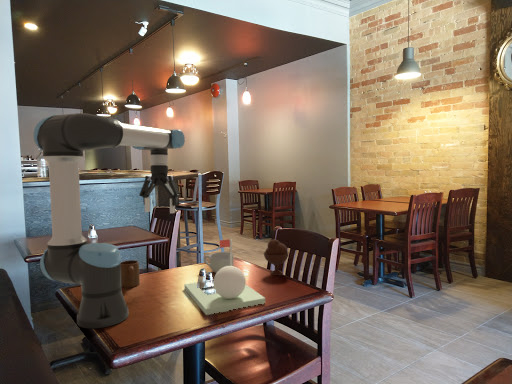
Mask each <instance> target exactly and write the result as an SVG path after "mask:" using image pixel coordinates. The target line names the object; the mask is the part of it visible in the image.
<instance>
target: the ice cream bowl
mask: <svg viewBox="0 0 512 384" xmlns="http://www.w3.org/2000/svg"><path fill="white" fill-rule="evenodd" d="M289 253H290V252H289V251H288V248H287V246H286V245H285V243H282V242H280V241H279V240H278V239H276V238H274V239H271V240H269V241H268V243H267V248H266V249H265V251H263V256H264V259H265V260H266V261H267V262H268V263H269V264H272V265H273V266H274V269H273V270H272V271H271V272H270V275H271V276H274V275H279V276H282V275H283V274H284V273H283V272H282V271H281V270H280V269H279V267H280V265H282V264H283V263H285V262H286V261H288V258H289Z"/></svg>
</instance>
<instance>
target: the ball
mask: <svg viewBox="0 0 512 384" xmlns="http://www.w3.org/2000/svg"><path fill="white" fill-rule="evenodd" d="M213 280H214V287H213V288H214V289H215V292H216V293H218V294H219V295H220V296H221V297H223V298H227V299H232V298H236V297H237V296H239V295H240V294H241V293H242V292H243V290H244V288H245V284H246V282H247V280H246V276H245V273H243V271H242V270H241V269H240V268H239V267H236V266H234V265H233V266H225V267H223V268H221V269H220V270H219V271H218V272H217V273H215V275H214V277H213ZM246 285H247V284H246Z"/></svg>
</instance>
